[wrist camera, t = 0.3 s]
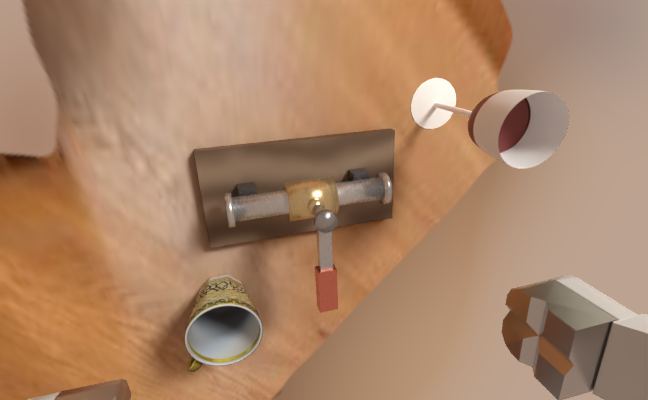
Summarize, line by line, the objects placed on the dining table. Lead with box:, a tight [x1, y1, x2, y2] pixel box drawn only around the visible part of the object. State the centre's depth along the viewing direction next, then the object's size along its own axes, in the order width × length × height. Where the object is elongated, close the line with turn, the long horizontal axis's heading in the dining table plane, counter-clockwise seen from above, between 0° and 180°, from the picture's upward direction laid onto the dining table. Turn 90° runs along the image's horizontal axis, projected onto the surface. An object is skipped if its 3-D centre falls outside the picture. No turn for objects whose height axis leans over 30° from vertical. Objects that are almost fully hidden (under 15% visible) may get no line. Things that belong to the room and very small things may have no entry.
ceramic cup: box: [185, 274, 263, 372], centre depth 56 cm, size 13×10×10 cm
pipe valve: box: [224, 168, 393, 228], centre depth 53 cm, size 5×22×8 cm, turn 94°
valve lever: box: [312, 205, 338, 313], centre depth 50 cm, size 14×3×4 cm, turn 4°
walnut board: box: [194, 129, 395, 248], centre depth 57 cm, size 14×28×2 cm, turn 94°
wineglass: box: [411, 78, 569, 169], centre depth 50 cm, size 8×9×20 cm
